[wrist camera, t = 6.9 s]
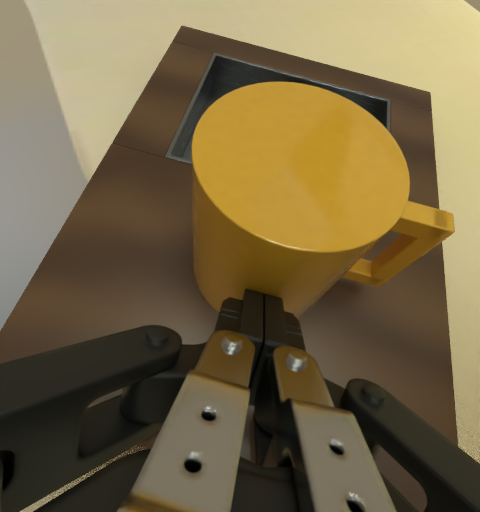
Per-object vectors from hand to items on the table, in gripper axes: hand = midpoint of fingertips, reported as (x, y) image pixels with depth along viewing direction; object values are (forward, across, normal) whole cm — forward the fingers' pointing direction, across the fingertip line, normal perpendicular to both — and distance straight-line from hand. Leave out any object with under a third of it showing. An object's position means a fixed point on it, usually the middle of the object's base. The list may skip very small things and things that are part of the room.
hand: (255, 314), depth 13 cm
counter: (+11, 0, -2) cm, 11 cm away
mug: (+6, -1, 0) cm, 6 cm away
